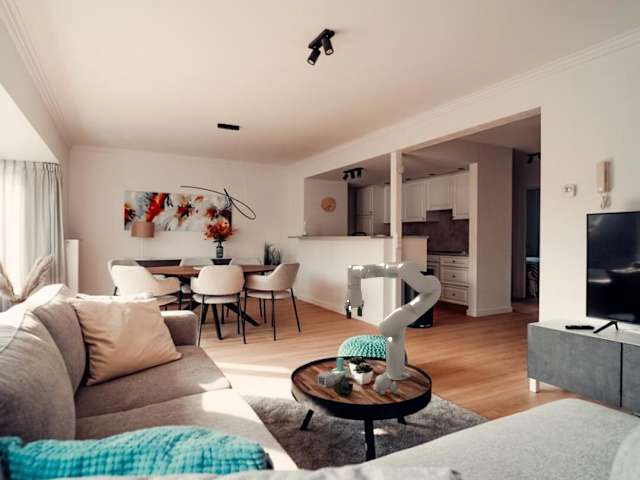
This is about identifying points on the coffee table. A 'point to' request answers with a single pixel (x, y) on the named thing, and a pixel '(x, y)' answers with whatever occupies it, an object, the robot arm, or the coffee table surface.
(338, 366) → the slip tube
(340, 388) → the end cap
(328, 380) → the sleeve
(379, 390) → the chubby cartoon animal
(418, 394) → the coffee table surface
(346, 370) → the socket block
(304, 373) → the coffee table surface
